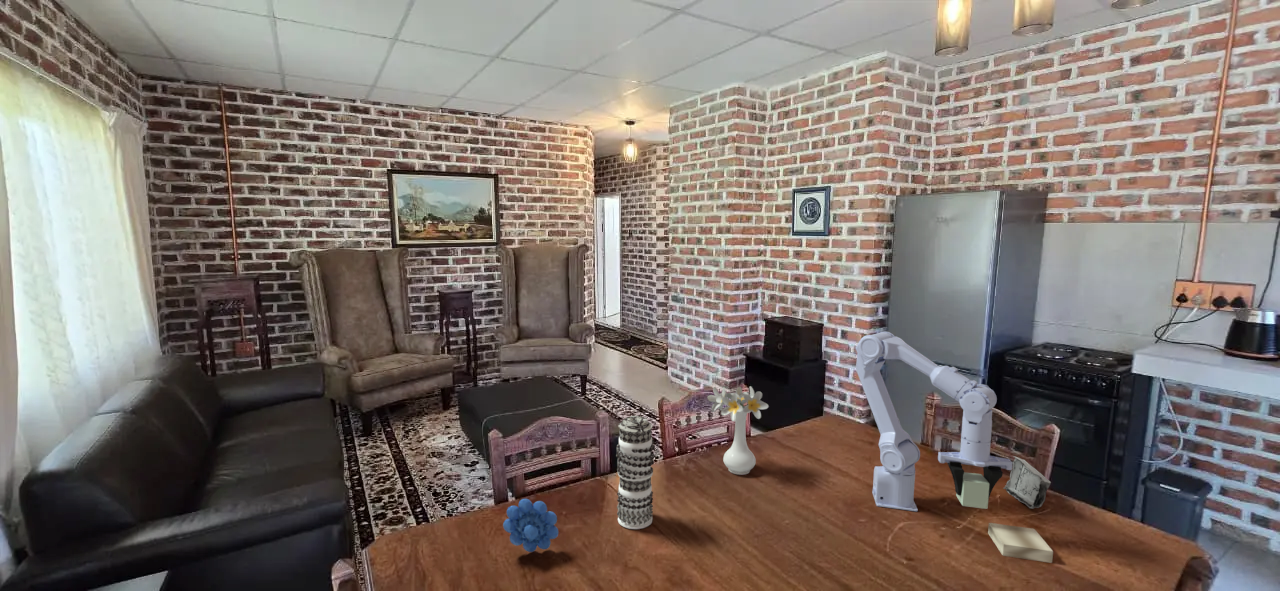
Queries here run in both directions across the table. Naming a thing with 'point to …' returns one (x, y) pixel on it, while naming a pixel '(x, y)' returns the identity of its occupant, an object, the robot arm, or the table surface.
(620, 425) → the decorative candle
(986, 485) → the sage block
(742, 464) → the flower vase
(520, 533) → the blue flower
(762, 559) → the table surface
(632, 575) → the table surface
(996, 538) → the cream block
